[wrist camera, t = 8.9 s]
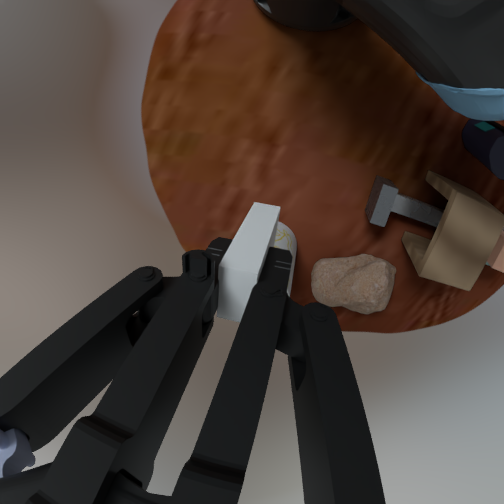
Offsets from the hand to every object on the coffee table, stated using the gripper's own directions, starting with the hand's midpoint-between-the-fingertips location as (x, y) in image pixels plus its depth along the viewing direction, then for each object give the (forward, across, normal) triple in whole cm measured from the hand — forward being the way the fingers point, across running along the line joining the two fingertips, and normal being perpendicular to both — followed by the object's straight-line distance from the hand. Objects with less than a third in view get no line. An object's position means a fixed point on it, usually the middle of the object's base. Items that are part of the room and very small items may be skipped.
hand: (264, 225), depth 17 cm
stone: (+22, +12, -16) cm, 30 cm away
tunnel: (+22, +22, -4) cm, 31 cm away
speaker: (+22, +26, +9) cm, 35 cm away
